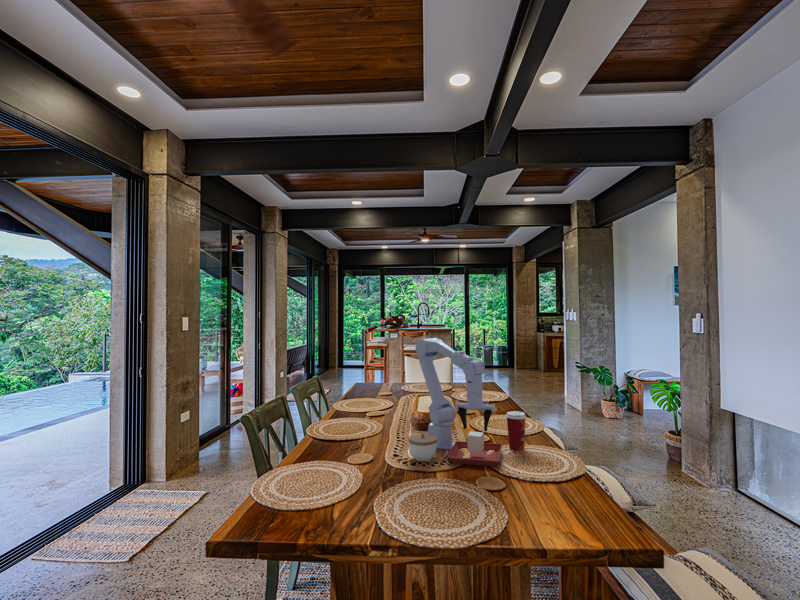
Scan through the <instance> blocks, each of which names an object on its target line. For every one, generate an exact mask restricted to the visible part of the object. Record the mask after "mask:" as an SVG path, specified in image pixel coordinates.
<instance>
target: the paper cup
mask: <svg viewBox="0 0 800 600" xmlns="http://www.w3.org/2000/svg"><path fill="white" fill-rule="evenodd" d="M505 417H506V424H507V435H508V438H507V439H508V446H509V450H510V449H511V450H510V451H512V450H514V451H513V452H515V451H522V452H524V451H525V443H526V442H525V441H526V419H527V416H526V413H525V412H524V411H517V410H513V411H507V412H506V415H505ZM523 450H524V451H523Z"/></svg>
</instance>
